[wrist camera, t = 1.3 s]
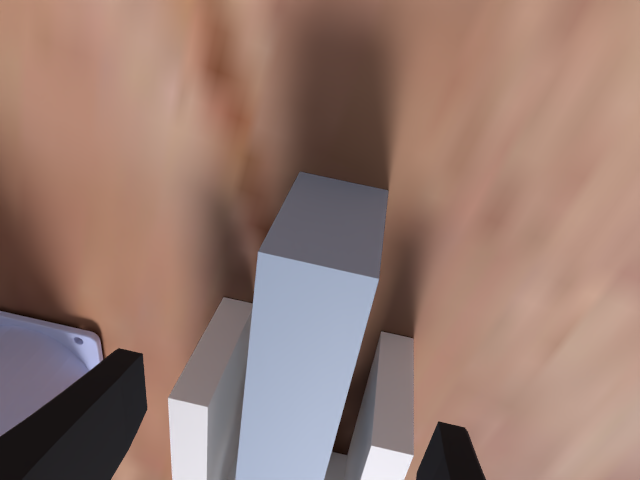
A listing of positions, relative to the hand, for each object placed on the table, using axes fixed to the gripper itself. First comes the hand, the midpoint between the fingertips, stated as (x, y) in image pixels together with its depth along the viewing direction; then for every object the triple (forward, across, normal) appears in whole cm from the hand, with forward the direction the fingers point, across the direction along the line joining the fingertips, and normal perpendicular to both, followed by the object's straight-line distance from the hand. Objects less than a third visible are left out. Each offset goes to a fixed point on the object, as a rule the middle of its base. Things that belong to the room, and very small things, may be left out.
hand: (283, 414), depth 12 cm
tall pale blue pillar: (+10, 0, +4) cm, 10 cm away
